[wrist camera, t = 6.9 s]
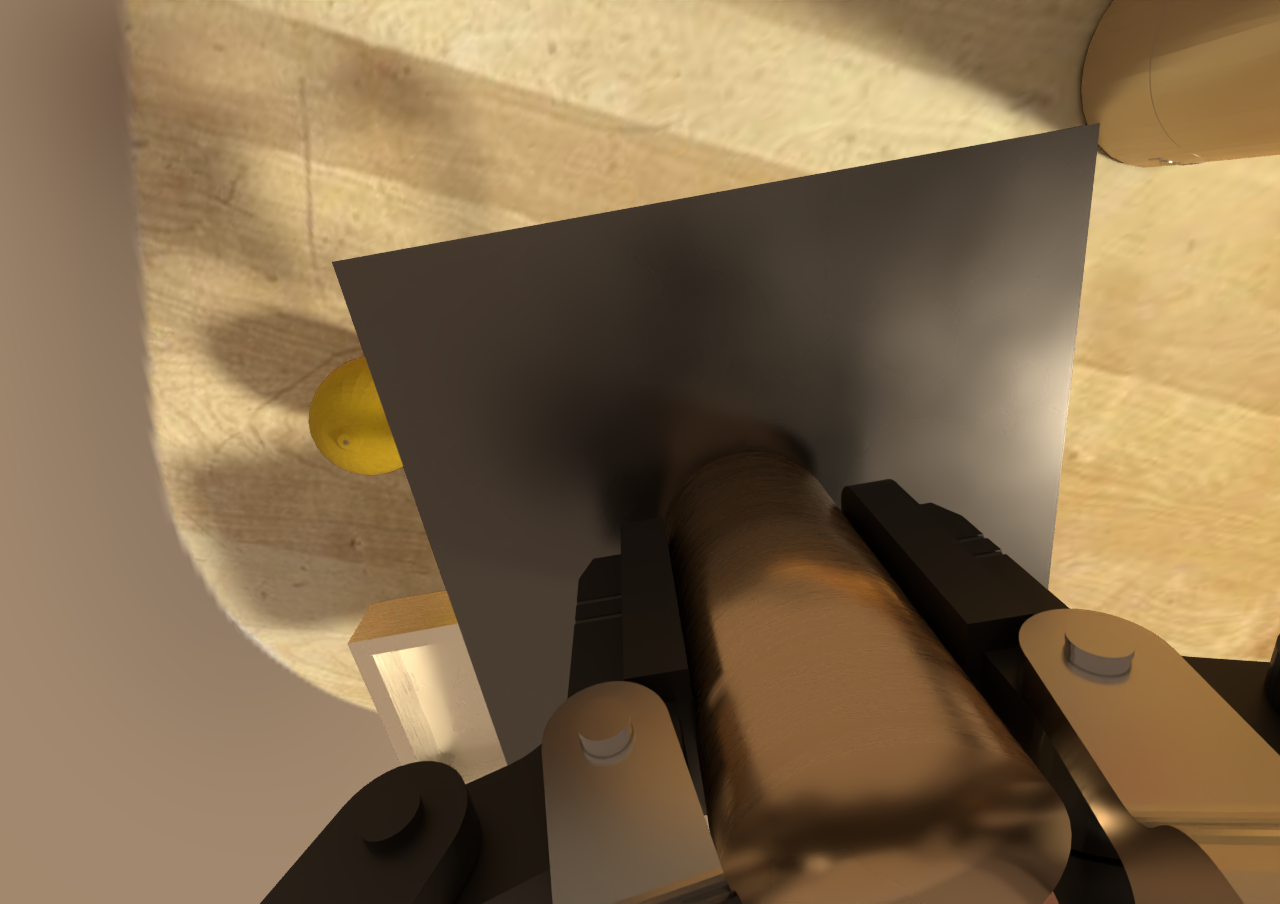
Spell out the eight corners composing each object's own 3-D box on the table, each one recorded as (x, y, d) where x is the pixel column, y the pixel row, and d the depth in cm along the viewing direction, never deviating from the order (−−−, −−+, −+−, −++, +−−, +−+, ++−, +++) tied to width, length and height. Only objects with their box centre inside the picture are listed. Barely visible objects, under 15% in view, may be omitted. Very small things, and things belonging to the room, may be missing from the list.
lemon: (360, 438, 33) (290, 500, 26) (345, 340, 31) (264, 377, 24) (460, 439, 34) (418, 501, 26) (451, 342, 32) (404, 379, 24)
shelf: (424, 518, 35) (347, 643, 25) (931, 426, 35) (1070, 514, 24) (473, 657, 39) (424, 817, 29) (929, 576, 39) (1049, 708, 28)
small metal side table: (483, 236, 19) (-177, 347, 3) (835, 173, 18) (2064, -62, 3) (559, 540, 23) (443, 1237, 7) (847, 492, 23) (1366, 1108, 7)
